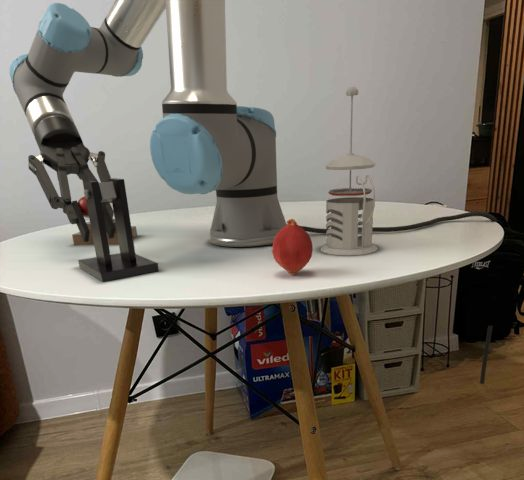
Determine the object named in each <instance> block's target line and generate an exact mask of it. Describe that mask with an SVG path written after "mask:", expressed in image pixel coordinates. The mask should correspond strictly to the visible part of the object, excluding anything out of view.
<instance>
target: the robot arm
mask: <svg viewBox="0 0 524 480" xmlns="http://www.w3.org/2000/svg"><path fill="white" fill-rule="evenodd" d="M164 12H165V13H166V14H165V15H166V29H167V46H168V63H169V79H170V90H169V92H168V93H167V95H165V97H164V99H162V101H161V108H162V118H161V119H159V120H158V122H156V124H155V128H154V129H153V130H152V131H151V134H150V138H149V151H150V157H151V160H152V161H151V162H152V164H153V166H154V169H155V171H156V172H157V175H159V177H160V179H162V180H163V181H164V182H165V183H166V185H167V186H168V187H170V188H171V189H172V190H174V191H176V192H178V193H180V194H184V195H207V194H209V193H212V192H215V195H216V203H215V206H214V207H215V208H214V212H213V217H212V221H211V226H210V232H209V236H210V238H209V239H210V243H211V244H213V245H215V246H219V247H228V248H250V247H253V248H254V247H262V246H263V247H264V246H270V245H273V241H274V239H275V237H276V235H277V233H278V232H279V231H280V230H281V229H282V228H284V227H285V226H286V225H287V221H286V219H285V215H284V213H283V210H282V207H281V204H280V201H279V198H278V173H277V169H278V168H277V142H276V140H277V130H276V126H275V125H276V124H275V118H274V116H273V114H272V113H271V112H270V111H269V110H267V109H264V108H261V107H255V106H251V107H250V106H244V105H243V106H238V104H237V101H236V100H235V99H234V98H233V97H232V96H231V94H230V93H229V91H228V86H227V85H228V82H227V81H228V80H227V78H228V77H227V35H226V33H227V32H226V31H227V29H226V0H114V2H113V3H112V6H111V7H110V9H109V11H108V13H107V14H106V16H105V17H104V19H103V21H102V22H101V25H100V26H99V27H95V26H91V25H90V23H89V22H88V20H87V19H86V18H85V17H84V16H83V15H82V14H81V13H80V12H79V11H77V10H76V9H75V8H71V7H69V6H68V5H67V4H66V3H65V4H64V3H61V2H53V3H51V4H50V5H49V6H48V7H47V9H46V11H45V13H44V14H43V16H42V19H41V20H40V21H39V23H38V25H37V30H36V33H35V36H34V38H33V40H32V43H31V46H30V48H29V51H28V53H24V54H21V55H19V56H18V57H17V58H16V59H14V60H13V61H12V62H11V64H10V66H9V77H10V80H11V83H12V87H13V91H14V94H15V95H16V97H17V98H18V101H19V104H20V106H21V108H22V111H23V113H24V115H25V117H26V119H27V122H28V125H29V127H30V130H31V132H32V134H33V136H34V139H35V142H36V145H37V147H38V149H39V151H40V152H39V153H40V154H39V155H37V156H36V155H35V154H34V155H33V154H30V155H28V157H27V158H28V159H27V160H28V161H27V164H28V170H29V171H30V172H31V173H32V174H33V175H34V176H35V177H36V179H37V181H38V183H39V185H40V187H41V190H42V191H43V193H44V195H45V197H46V200H47V201H48V203H49V205H50V207H51V209H53V210H58V209H62V213H63V214H65V215H66V217H67V219H68V221H69V223H70V224H71V225H76V226H77V229H78V231H79V232H80V233H81V236H82V238H83V241H84V242H89V235H90V231H89V228H88V226H87V223H86V222H87V221H86V219H85V217H84V216H83V214H82V212H81V209H80V207H79V205H78V200H72V195H71V189H70V184H69V180H68V179H69V177H68V176H69V175H76V176H77V178H78V179H79V180H81V182H83V181H87V180H89V181H97V182H98V183H102V182H109V180H108V179H110V178H112V176H111V174H110V172H109V169H108V166H107V163H106V152H104V151H103V150H99V151H98V153H95V152H91V151H90V149H89V148H88V147H87V146H86V145H85V144H84V142H83V138H82V136H81V134H80V132H79V130H78V128H77V125H76V124H75V121H74V119H73V116H72V113H71V112H70V110H69V108H68V106H67V103H66V101H65V99H64V93H65V91H66V89H67V87H68V85H69V84H70V81H71V79H72V78H73V76H74V74H75V73H83V74H85V73H86V74H94V75H95V74H98V75H105V76H106V75H107V76H112V77H119V78H121V77H131V76H135V75H136V74H137V73H139V71H140V70H141V69H142V65H143V59H144V52H143V47H142V46H143V45H144V43H145V41H146V40H147V39H148V36H149V35H150V34H151V32H152V31H153V29H154V27H155V26H156V24H157V23H158V21H159V20H160V18H161V17H162V15H163V13H164ZM89 161H90V162H91V163H92V165H93V167H94V168H96V173H97V176H98V178H99V181H100V182H99V181H98V179H97V177H96V176H95V175H94V173H93V172H92V171H91V169H90V167H89V164H88V162H89ZM45 166H47V167H48V168H50V169H52V170H53V171H55V172H56V178H57V181H58V186H59V192H60V196H59V194H58V192H57V189H56V188H55V185H54V184H53V181H52V179H51V177H50V175H49V174H48V171H47V169H46V167H45ZM101 204H102V209H103V215H104V221H105V227H106V232H107V234H108V236H109V238H114V233H115V226H114V223H113V221H112V219H114V211H113V206H112V205H111V204H112V201H111V202H103V203H101ZM470 217H482V218H486V219H488V220H489V221H490V222H493V223H499V220H498V219H497V218H496V216H494V215H492V214H490V213H489V212H485V211H469V212H463V213H458V214H454V215H447V216H441V217H440V216H439V217H436V218H433V219H430V220H427V221H426V220H425V221H422V222H418V223H413V224H408V225H399V226H372V229H371V230H372V233H392V232H405V231H411V230H416V229H420V228H424V227H428V226H432V225H435V224H438V223H441V222H442V223H443V222H449V221H450V222H451V221H455V220H460V219H465V218H470ZM299 226H300V227H301V228H303V229H304V230H305V231H306V232H307V233H308V232H309V233H313V234H326V232H327V230H328V229H326V228H317V227H311V226H306V225H305V226H304V225H299ZM361 228H362V226H358V229H361ZM493 327H494V325H487V331H486V336H485V344H484V349H483V356H482V364H481V370H480V379H479V380H480V381H479V384H481V385H484V384H485V379H486V372H487V364H488V358H489V352H490V346H491V340H492V332H493Z"/></svg>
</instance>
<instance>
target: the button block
mask: <svg viewBox="0 0 524 480" xmlns="http://www.w3.org/2000/svg"><path fill="white" fill-rule="evenodd" d="M86 223H87V226H88V228H89V231H90V235H89V242H84V241H83V238H82V236H81V233H80V231H79V232H75V233H73V234H71V236H72V242H73V246H94V241H93V236H92V230H91V225H90V220H89V221H86ZM113 223H114V226H115V233H114V238H109V236H108V234H107V239H108V245H109V246H119V242H118V236H117V230H116V223H115V218H113ZM131 229H132V235H133V239H134V238H137V237H138V230H137V226H136V225H131ZM106 233H107V232H106Z"/></svg>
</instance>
